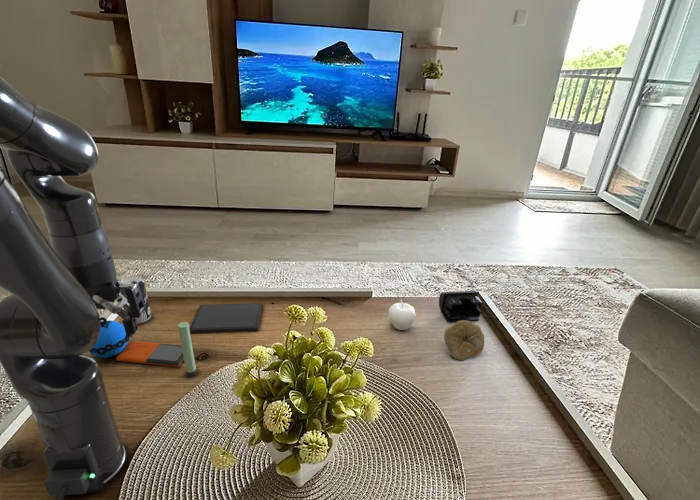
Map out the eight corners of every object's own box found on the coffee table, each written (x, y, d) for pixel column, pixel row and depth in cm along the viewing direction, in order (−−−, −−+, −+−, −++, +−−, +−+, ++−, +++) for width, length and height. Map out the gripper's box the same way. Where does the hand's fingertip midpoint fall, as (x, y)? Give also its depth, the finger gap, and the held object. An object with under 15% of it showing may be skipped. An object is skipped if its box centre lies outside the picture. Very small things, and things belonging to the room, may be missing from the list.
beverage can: (148, 324, 103) (139, 284, 98) (124, 326, 102) (114, 285, 97) (154, 312, 108) (146, 273, 103) (132, 314, 107) (122, 274, 102)
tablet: (257, 331, 102) (257, 327, 101) (189, 333, 100) (188, 329, 100) (262, 305, 113) (262, 302, 112) (201, 307, 111) (200, 304, 111)
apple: (393, 316, 110) (395, 290, 106) (417, 323, 107) (420, 297, 103) (383, 328, 104) (385, 302, 101) (408, 337, 101) (411, 310, 98)
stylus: (195, 376, 86) (186, 327, 81) (185, 377, 86) (176, 327, 81) (197, 370, 88) (189, 321, 83) (188, 370, 88) (179, 321, 82)
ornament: (84, 368, 88) (72, 331, 83) (97, 344, 95) (87, 309, 91) (126, 363, 89) (117, 326, 85) (136, 340, 97) (127, 305, 93)
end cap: (470, 307, 115) (473, 286, 112) (480, 320, 109) (485, 299, 106) (437, 308, 114) (440, 288, 111) (446, 323, 107) (449, 301, 104)
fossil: (439, 328, 95) (474, 314, 97) (434, 332, 99) (468, 318, 101) (456, 364, 92) (492, 348, 94) (450, 366, 96) (485, 351, 98)
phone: (131, 339, 95) (191, 345, 94) (133, 344, 96) (192, 349, 94) (114, 357, 89) (177, 363, 88) (115, 361, 90) (178, 368, 88)
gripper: (21, 264, 60) (52, 348, 67) (118, 265, 61) (139, 348, 68) (51, 243, 67) (77, 321, 74) (139, 244, 68) (156, 321, 75)
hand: (107, 334), depth 71 cm, fingers open, 8 cm apart
